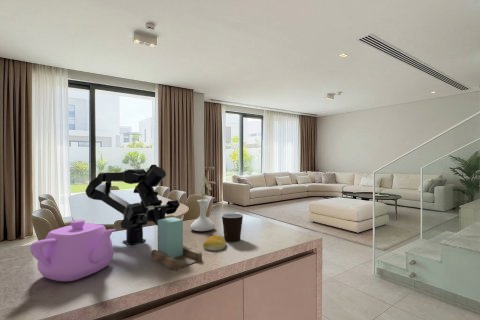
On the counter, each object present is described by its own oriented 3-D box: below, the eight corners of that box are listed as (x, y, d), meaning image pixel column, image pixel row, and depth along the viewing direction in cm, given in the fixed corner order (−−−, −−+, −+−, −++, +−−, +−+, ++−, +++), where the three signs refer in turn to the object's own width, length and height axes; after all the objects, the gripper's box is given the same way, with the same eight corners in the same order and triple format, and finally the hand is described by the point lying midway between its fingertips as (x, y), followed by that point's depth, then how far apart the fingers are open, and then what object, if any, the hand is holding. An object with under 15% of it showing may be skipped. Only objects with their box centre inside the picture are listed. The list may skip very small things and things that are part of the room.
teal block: (157, 255, 88) (157, 220, 88) (173, 250, 93) (172, 217, 93) (167, 259, 84) (167, 223, 84) (182, 254, 89) (182, 219, 88)
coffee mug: (238, 244, 101) (238, 218, 101) (218, 241, 104) (218, 216, 104) (247, 235, 112) (247, 212, 112) (228, 233, 115) (228, 211, 115)
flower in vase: (213, 233, 115) (213, 177, 115) (187, 233, 115) (187, 177, 115) (216, 225, 128) (216, 175, 128) (193, 225, 128) (193, 175, 128)
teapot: (11, 285, 68) (10, 228, 68) (85, 257, 88) (84, 212, 88) (71, 303, 60) (70, 238, 60) (137, 267, 80) (137, 218, 80)
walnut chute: (151, 258, 87) (150, 250, 87) (177, 250, 95) (177, 243, 95) (174, 270, 77) (174, 262, 77) (201, 260, 85) (201, 252, 85)
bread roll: (200, 251, 94) (200, 240, 94) (208, 243, 103) (208, 233, 103) (222, 252, 93) (222, 241, 93) (228, 244, 102) (228, 234, 102)
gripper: (161, 204, 110) (176, 235, 103) (116, 211, 96) (130, 248, 89) (172, 187, 105) (188, 219, 97) (125, 192, 91) (141, 229, 84)
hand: (163, 228), depth 92 cm, fingers closed
